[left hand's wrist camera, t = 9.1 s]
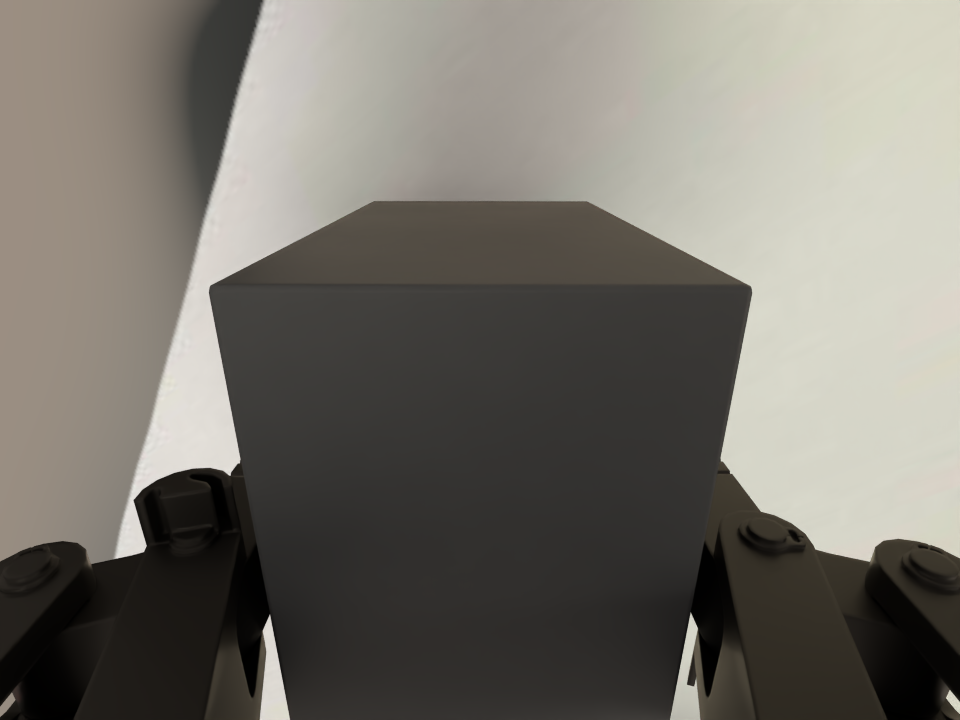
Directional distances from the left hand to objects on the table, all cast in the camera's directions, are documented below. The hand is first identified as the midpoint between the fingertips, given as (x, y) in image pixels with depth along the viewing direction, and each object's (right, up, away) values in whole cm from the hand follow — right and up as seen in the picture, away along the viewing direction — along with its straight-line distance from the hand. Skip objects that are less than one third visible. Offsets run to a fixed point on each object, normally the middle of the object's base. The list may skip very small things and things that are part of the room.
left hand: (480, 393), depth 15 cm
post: (0, -21, +9) cm, 23 cm away
